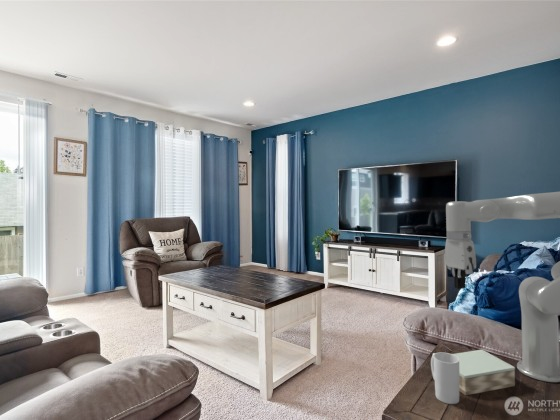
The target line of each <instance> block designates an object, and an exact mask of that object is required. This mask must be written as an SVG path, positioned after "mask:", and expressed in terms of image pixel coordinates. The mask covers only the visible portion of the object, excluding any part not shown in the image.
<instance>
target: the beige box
mask: <svg viewBox="0 0 560 420" xmlns="http://www.w3.org/2000/svg"><path fill="white" fill-rule="evenodd" d="M515 376H516V375H515V370H512V371H506V372H500V373H495V374H489V375H483V376H477V377H472V378H466V379H464V378H463V377H461V376H460V375H459V393H460V392H461V393H462V394H463V395H464V396H468V395H474V394H479V393H485V392H489V391H495V390H500V389H506V388H507V389H508V388H511V387H512V388H513V387H515V386H516V377H515Z"/></svg>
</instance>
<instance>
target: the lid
mask: <svg viewBox="0 0 560 420" xmlns="http://www.w3.org/2000/svg"><path fill="white" fill-rule="evenodd" d="M452 354H453V355H455V356H457V357H458V358H459V375H460V376H461V377H463V378H464V379H466V378H472V377H477V376H483V375H489V374H495V373H500V372H506V371H512V370H514V371H515V370H516V367H515V366H513V365H511V364H510V363H508V362H506V361H504V360H502V359H501V358H498V357H497V356H496V355H493V354H490V353H489V352H487V351H485V350H484V349H477V350H471V351H470V350H469V351H464V352H457V353H452Z"/></svg>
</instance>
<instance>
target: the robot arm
mask: <svg viewBox="0 0 560 420" xmlns="http://www.w3.org/2000/svg"><path fill="white" fill-rule="evenodd" d="M445 217H446V218H445V220H446V221H445V223H446V224H445V225H446V226H445V228H446V240H445V247H444V263H445V265H446V268H447V269H448V270H450V271H451V273H452V276H453V284H454V286H453V288H454V289H457V290H459V289H460V290H461V289H465V288H466V278H467V276H468V275H472V274H474V271H473V270H476V269H477V258H476V256H477V255H476V249H475V245H474V241H473V240H472V236H473V235H472V229H471V227H472V225H471V222H480V223H489V222H491V221H494V220H502V219H503V220H505V219H509V220H510V219H512V220H513V219H514V220H525V221H526V220H527V221H529V220H531V221H533V220H534V221H536V220H549V219H560V191H554V192H553V191H552V192H541V193H529V194H528V193H527V194H521V195H515V196H509V197H507V196H506V197H499V198H488V199H476V200H472V201H465V200H464V201H462V200H461V201H459V200H457V201H449V202H447V203H446V204H445ZM550 274H551V276H552V277H551V278H552V279H553V280H551V281H550V280H549V279H546V278H544V277H542V276H541V277H540V276H530V277H526V278H524V279H523V280H522V281H521V283H520V284H519V287H518V297H519V303H520V304H519V305H520V311H521V347H522V348H521V350H522V351H521V352H522V355H521V356H522V357H521V358H522V360H519V361H518V362H517V363H516V367H517V370H518V371H519V372H520V373H522V374H523V375H525V376H527V377H530V378H532V379H534V380H538V381H542V382H546V383H547V382H548V383H560V343H559V342H560V341H559V340H560V338H559V336H560V335H559V332H560V331H559V328H560V327H559V316H560V260H559V261H558V262H556V263H554V264H553V266H552V267H551V270H550Z"/></svg>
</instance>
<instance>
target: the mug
mask: <svg viewBox="0 0 560 420" xmlns="http://www.w3.org/2000/svg"><path fill="white" fill-rule="evenodd" d="M453 354H454V353H448V352H444V351H443V352H440V351H439V352H436V353H435V352H433V353H432V356H431V359H430V369H431V375H432V378H433V380H434V391H435V397H436V399H437V400H439V401H440V402H442V403H445V404H448V405H456V404H458V403H459V402H460V391H459V358H458V357H457V356H455V355H453Z"/></svg>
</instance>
